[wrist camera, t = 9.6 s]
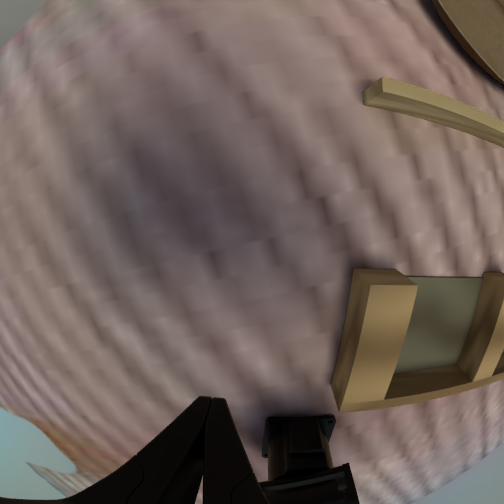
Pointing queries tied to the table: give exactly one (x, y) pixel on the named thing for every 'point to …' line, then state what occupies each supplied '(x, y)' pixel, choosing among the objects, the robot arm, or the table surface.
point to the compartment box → (420, 300)
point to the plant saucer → (477, 30)
